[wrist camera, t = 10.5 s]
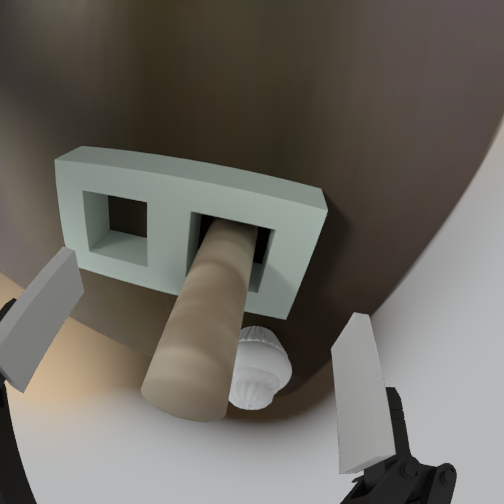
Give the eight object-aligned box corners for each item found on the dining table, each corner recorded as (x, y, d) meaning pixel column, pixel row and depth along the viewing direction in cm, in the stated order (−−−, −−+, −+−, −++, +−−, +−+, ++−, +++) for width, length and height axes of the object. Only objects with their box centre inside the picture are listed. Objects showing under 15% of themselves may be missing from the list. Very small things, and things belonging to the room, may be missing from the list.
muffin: (273, 364, 26) (268, 429, 20) (213, 344, 25) (197, 410, 20) (305, 327, 23) (307, 401, 17) (236, 302, 22) (219, 379, 16)
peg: (209, 243, 19) (145, 407, 9) (214, 203, 18) (135, 371, 8) (252, 252, 19) (221, 427, 9) (262, 213, 18) (232, 396, 8)
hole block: (89, 242, 20) (69, 264, 18) (81, 145, 16) (54, 159, 13) (286, 289, 21) (285, 319, 18) (321, 188, 16) (328, 210, 14)
